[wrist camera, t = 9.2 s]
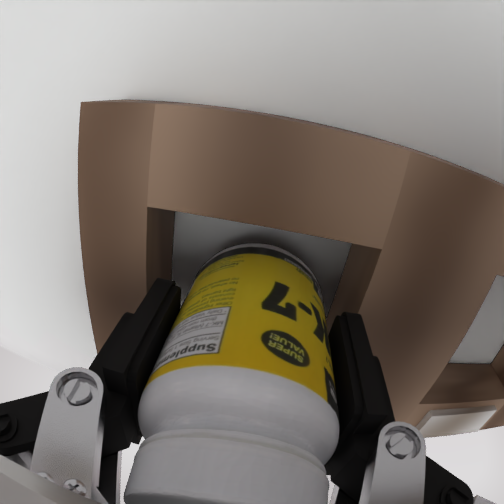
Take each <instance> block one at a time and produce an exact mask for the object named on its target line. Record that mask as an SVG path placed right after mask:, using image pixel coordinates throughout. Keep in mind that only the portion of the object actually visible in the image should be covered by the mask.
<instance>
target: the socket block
mask: <svg viewBox="0 0 504 504" xmlns="http://www.w3.org/2000/svg"><path fill="white" fill-rule="evenodd" d="M78 202H79V223H80V237H81V249H82V260H83V269H84V277H85V285H86V292H87V299H88V306H89V312H90V318H91V324H92V329H93V334H94V339H95V344H96V349H97V354H98V353H99V351H100V350H101V348H102V347H103V345H104V343H105V342H106V340H107V339H108V337H109V336H110V334H111V333H112V331H113V330H114V328H115V326H116V325H117V323H118V322H119V320H120V319H121V317H122V316H123V315H124V314H125V313H126V312H130V313H133V314H134V313H135V312H136V310H137V308H138V307H139V305H140V304H141V302H142V301H143V299H144V297H145V296H146V294H147V293H148V291H149V290H150V288H151V287H152V285H153V284H154V282H155V280H156V279H157V278H162V279H167V280H171V274H172V251H173V233H174V217H175V211H178V212H184V213H190V214H196V215H202V216H208V217H213V218H219V219H225V220H231V221H236V222H242V223H248V224H253V225H259V226H264V227H270V228H275V229H281V230H286V231H291V232H297V233H302V234H307V235H312V236H318V237H323V238H328V239H333V240H338V241H343V242H348V243H352V245H351V248H350V251H349V255H348V258H347V261H346V264H345V267H344V270H343V273H342V276H341V279H340V282H339V285H338V288H337V291H336V294H335V297H334V300H333V303H332V306H331V308H330V311H329V314H328V317H327V320H326V325H327V331H328V335H329V332H330V330H331V327H332V324H333V322H334V319H335V317H336V316H337V315H339V316H341V314H342V313H343V312H350V313H356V314H360V315H361V316H362V319H363V322H364V326H365V329H366V332H367V336H368V339H369V343H370V346H371V350H372V353H373V356H377V357H378V359H379V361H380V364H381V368H382V371H383V375H384V379H385V382H386V386H387V390H388V394H389V397H390V401H391V405H392V409H393V413H394V417H395V422H396V421H399V422H406V423H408V424H411V425H412V426H414V427H415V428H417V429H418V430H419V431H420V432H421V434H422V436H423V438H426V437H437V436H447V435H455V434H463V433H470V432H476V431H478V430H482V429H488V428H493V427H499V426H504V345H503V347H502V348H501V350H500V351H499V353H498V354H497V356H496V357H495V359H494V360H493V362H492V363H491V364H453V363H448V362H449V360H450V359H451V357H452V356H453V354H454V352H455V351H456V349H457V348H458V346H459V344H460V343H461V341H462V339H463V338H464V336H465V334H466V333H467V331H468V329H469V327H470V326H471V324H472V322H473V320H474V319H475V317H476V315H477V313H478V311H479V309H480V307H481V305H482V304H483V302H484V300H485V298H486V296H487V294H488V292H489V290H490V287H491V285H492V283H493V281H494V279H495V277H496V275H500V276H504V184H501V183H499V182H497V181H495V180H492V179H490V178H488V177H485V176H483V175H481V174H478V173H476V172H474V171H471V170H469V169H466V168H464V167H461V166H458V165H456V164H453V163H451V162H448V161H445V160H442V159H440V158H437V157H434V156H431V155H428V154H426V153H423V152H420V151H417V150H414V149H411V148H407V147H404V146H401V145H398V144H395V143H391V142H388V141H385V140H381V139H378V138H374V137H371V136H367V135H363V134H359V133H356V132H352V131H348V130H344V129H340V128H336V127H331V126H327V125H323V124H318V123H314V122H309V121H304V120H299V119H294V118H289V117H284V116H278V115H273V114H267V113H261V112H255V111H248V110H241V109H234V108H226V107H218V106H210V105H200V104H190V103H178V102H165V101H147V100H107V101H91V102H81V108H80V122H79V143H78Z"/></svg>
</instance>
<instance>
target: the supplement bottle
mask: <svg viewBox="0 0 504 504" xmlns="http://www.w3.org/2000/svg"><path fill="white" fill-rule="evenodd" d="M138 422H139V427H140V430H141V433H142V435H143V437H144V438H145V440H144V441H143V443H142V444H141V445H140V447H139V450H138V452H137V453H136V456H135V458H134V463H133V466H132V470H131V473H130V476H129V479H128V482H127V485H126V489H125V492H124V502H125V503H126V504H327V503H328V490H329V481H328V478H327V477H326V470H325V467H324V465H325V464H326V463H327V462H328V460H329V459H330V458H331V457H332V455H333V453H334V452H335V449H336V447H337V444H338V440H339V411H338V406H337V396H336V390H335V382H334V374H333V367H332V359H331V349H330V345H329V339H328V331H327V325H326V319H325V312H324V304H323V299H322V294H321V290H320V286H319V284H318V281H317V279H316V278H315V276H314V274H313V273H312V271H311V270H310V269H309V268H308V267H307V266H306V265H305V264H304V263H303V262H302V261H301V260H300V259H299V258H297V257H296V256H294V255H293V254H291V253H290V252H288V251H286V250H284V249H282V248H279V247H276V246H272V245H268V244H259V243H249V244H241V245H236V246H233V247H230V248H227V249H225V250H223V251H221V252H219V253H217V254H216V255H214V256H213V257H212V258H211V259H209V260H208V261H207V262H206V263H205V264H204V266H203V267H202V268H201V270H200V271H199V273H198V274H197V276H196V278H195V280H194V282H193V285H192V287H191V289H190V291H189V293H188V295H187V297H186V299H185V301H184V303H183V305H182V307H181V309H180V311H179V314H178V316H177V318H176V320H175V322H174V324H173V326H172V328H171V330H170V333H169V335H168V337H167V339H166V341H165V344H164V346H163V348H162V350H161V353H160V355H159V357H158V359H157V361H156V364H155V366H154V368H153V370H152V373H151V375H150V377H149V379H148V382H147V384H146V386H145V388H144V390H143V393H142V396H141V399H140V403H139V407H138Z"/></svg>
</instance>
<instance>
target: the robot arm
mask: <svg viewBox="0 0 504 504" xmlns="http://www.w3.org/2000/svg"><path fill="white" fill-rule="evenodd" d="M180 299H181V288H180V287H178V286H176V283H175V281H171V280H167V279H162V278H157V279H156V280H155V282H154V284H153V285H152V287H151V288H150V290H149V291H148V293H147V294H146V296H145V297H144V299H143V301H142V302H141V304H140V305H139V307H138V308H137V310H136V312H135V313H134V314H133V313H130V312H126V313H125V314H124V315H123V316H122V317H121V319H120V320H119V322H118V323H117V325H116V326H115V328H114V330H113V331H112V333H111V334H110V336H109V337H108V339H107V340H106V342H105V343H104V345H103V347H102V348H101V350H100V351H99V353H98V355H97V356H96V358H95V359H94V361H93V363H92V364H91V366H90V367H89V369H86V368H82V367H73V368H69V369H66V370H64V371H62V372H60V373H59V374H58V375H57V376H56V377H55V378H54V380H53V382H52V384H51V386H50V390H49V391H48V392H44V393H40V394H37V395H33V396H29V397H25V398H22V399H18V400H14V401H10V402H6V403H1V404H0V504H120V477H121V455H122V450H123V449H126V448H129V446H130V444H131V442H133V443H135V444H139V442H140V440H141V437H142V436H143V435H142V433H141V430H140V427H139V422H138V407H139V403H140V399H141V396H142V393H143V390H144V388H145V386H146V384H147V382H148V379H149V377H150V375H151V373H152V370H153V368H154V366H155V364H156V361H157V359H158V357H159V355H160V353H161V350H162V348H163V346H164V344H165V341H166V339H167V337H168V335H169V333H170V330H171V328H172V326H173V324H174V322H175V320H176V318H177V316H178V314H179V311H180ZM328 339H329V345H330V349H331V359H332V367H333V374H334V382H335V390H336V396H337V406H338V411H339V440H338V444H337V447H336V449H335V452H334V453H333V455H332V457H331V458H330V459H329V460H328V462H327V463H326V464H325V465H324V467H325V470H326V475H331V481H332V482H333V483H334V484H335V485H334V489H333V493H332V496H331V500H330V504H495V503H493V502H491V501H489V500H487V499H484V498H483V497H480V496H478V495H477V496H475V497H473V494H472V492H471V490H470V488H469V487H468V485H467V484H465V483H464V482H463V481H462V480H460V479H458V478H457V477H455V476H454V475H453V474H451V473H450V472H449V471H447V470H446V469H444V468H443V467H441V466H440V465H438V464H437V463H436V462H434V461H433V460H431V459H430V458H428V457H427V456H426V445H425V440H424V438H423V436H422V434H421V432H420V431H419V430H418V429H417V428H415V427H414V426H412V425H411V424H408V423H406V422H399V421H396V422H395V417H394V413H393V409H392V405H391V401H390V397H389V394H388V390H387V386H386V382H385V379H384V375H383V371H382V368H381V364H380V361H379V359H378V357H377V356H373V353H372V350H371V346H370V343H369V339H368V336H367V332H366V329H365V326H364V322H363V319H362V316H361V315H360V314H356V313H350V312H343V313H342V314H341V316H339V315H337V316H336V317H335V319H334V322H333V324H332V327H331V330H330V332H329V335H328Z"/></svg>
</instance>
